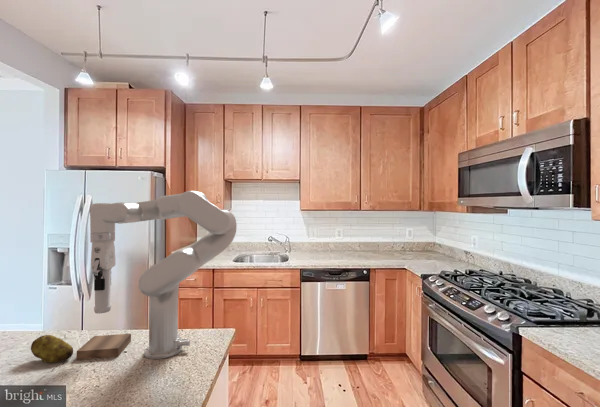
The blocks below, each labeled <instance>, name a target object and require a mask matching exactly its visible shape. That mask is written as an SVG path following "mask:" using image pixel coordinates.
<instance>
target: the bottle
mask: <svg viewBox="0 0 600 407" xmlns="http://www.w3.org/2000/svg"><path fill="white" fill-rule="evenodd" d="M98 270H102V268H99V269H98ZM100 273H101V272H100ZM104 278H105V290H99V291H95V290H94V307H93V309H94V310H93V311H94V313H95V314H97V315H98V314H105V313H109V312H110V311H111V308H112V305H111V286H112V268H110V269H108V270H105V271H104Z"/></svg>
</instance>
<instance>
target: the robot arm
mask: <svg viewBox="0 0 600 407" xmlns="http://www.w3.org/2000/svg"><path fill="white" fill-rule="evenodd" d="M89 211H90V213H89V215H90V217H89V219H90V224H89V225H90V227H89V228H90V232H89V233H90V234H89V235H90V238H89V240H90V243H92V244H91V254H90V256H91V257H90V270H92V274H93V284H94V285H93V290H94V292H95V291H99V290H105V278H104V271H105V270H108V269H110V268H111V269H112V268H114V267H115V266H116V247H115V246H116V245H115V242H116V224H129V223H130V224H132V223H133V224H134V223H139V222H145V221H146V222H147V221H155V220H169V219H176V218H184V217H185V218H186V217H187V218H188V219H190V220H191V221H193V222H194V223H195V224H197V225H198V226H200V227H201V228H202V229H204V230H205V231H208V232H209V233H207V234H206V235H204V236H203V237H201V238H200V239H199V240H197V241H195V242H194V243H192V244H191V245H189V246H187V247H184V248H181V249H179V250H177V251H174V252H172V253H171V254H169V255H168V256H166V257H165V258H163V259H161V260H160V261H158V262H157V263H155V264H154V265H153V266H151V267H149V268H147V269H146V270H145V271H143V272H142V274H141V275H140V277H139V279H138V289H139V291H140V293H142V294H143V295H144V296H147V297H149V303H148V304H149V305H148V306H149V309H148V329H149V330H148V346H146V348H145V349H144V351H143V355H144V356H145V358H148V359H151V360H159V359H160V360H162V359H167V358H169V357H174V356H175V355H177V354H179V353H180V352H181V351H182V349H183V347H187V346H190V345H191V340H190V339H189V338H186V337H185V338H181V336H180V334H179V333H178V332H179V331H178V330H179V327H178V325H179V324H178V323H179V321H178V320H179V319H178V318H179V316H178V315H179V288H180V283H181V282H183V281H184V280H186V279H187V278H189V277H190V276H192V275H193V274H194V273H196V272H197V271H198V270H199V269H200V268H201V267H203V266H204V265H206V264H207V263H208V262H210V261H212V260H213V259H214V258H215V257H218V255H220V254H221V253H223V252H224V251H226V249H227V248H228V247H229V246H230V245H231V243H232V242H233V241H234V239H235V237H236V235H237V228H238V227H237V226H238V225H237V220H236V216H235V215H234V214H233V213H232V212H231V211H229V210H227V209H221V208H220V207H218V206H216V205H215V204H213V203H212V202H210V201H209V198H208V197H207V195H206V194H204V193H203V192H201V191H197V190H187V191H184V192H183V193H177V194H170V195H162V196H159V197H158V198H156V199H153V200H146V201H140V202H139V201H137V202H114V203H113V202H112V203H111V202H110V203H107V202H101V203H100V202H99V203H98V202H96V203H93V204H91V206H90V210H89ZM99 268H102V270H98V269H99ZM100 272H101V273H100Z"/></svg>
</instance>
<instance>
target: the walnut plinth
mask: <svg viewBox="0 0 600 407" xmlns="http://www.w3.org/2000/svg"><path fill="white" fill-rule="evenodd" d="M131 342H132V333H122V334H119V333H118V334H106V335H104V334H103V335H93V337H91V338H90V339H89V340H88V341H87V342H85V343H84V344H83V345H82V346H81V347H80V348H78V349H77V351H76V361H83V360H94V359H95V360H96V359H106V358H108V359H109V358H119V357H120V355H121V354H122V353H123V352H124V350H125V349H126V348H127V347H128V346H129V345H130V343H131Z"/></svg>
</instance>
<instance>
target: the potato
mask: <svg viewBox="0 0 600 407" xmlns="http://www.w3.org/2000/svg"><path fill="white" fill-rule="evenodd" d="M30 351H31V354H33V356H34V357H36V359H40V360H41V361H42V362H44V363H47V364H55V363H60V362H64V361H66V360H68V359H70V358H71V357H72V356H73V355H74V348H73V346H72V345H71V344H70V343H68V342H66V341H65V340H64V339H62V338H60V337H57V336H55V335H52V334H45V335H41V336H39V337H38V338H36V339H34V340H33V341H32V342H31V345H30Z"/></svg>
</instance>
